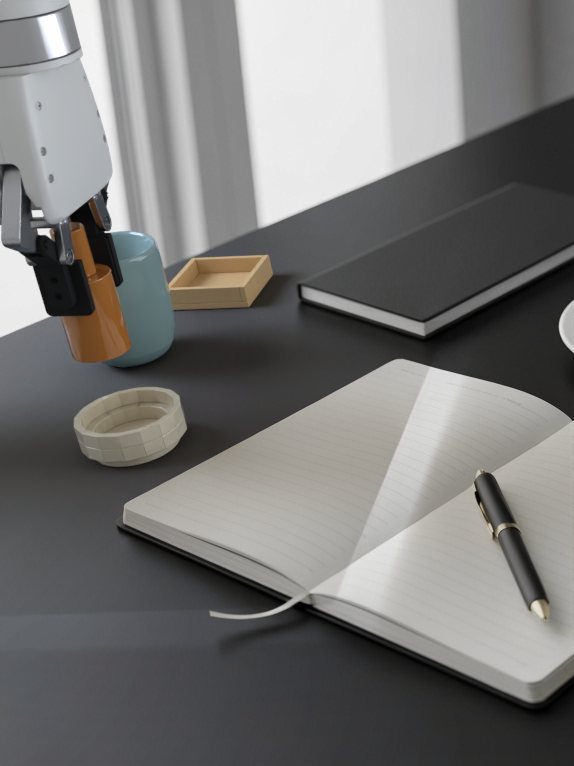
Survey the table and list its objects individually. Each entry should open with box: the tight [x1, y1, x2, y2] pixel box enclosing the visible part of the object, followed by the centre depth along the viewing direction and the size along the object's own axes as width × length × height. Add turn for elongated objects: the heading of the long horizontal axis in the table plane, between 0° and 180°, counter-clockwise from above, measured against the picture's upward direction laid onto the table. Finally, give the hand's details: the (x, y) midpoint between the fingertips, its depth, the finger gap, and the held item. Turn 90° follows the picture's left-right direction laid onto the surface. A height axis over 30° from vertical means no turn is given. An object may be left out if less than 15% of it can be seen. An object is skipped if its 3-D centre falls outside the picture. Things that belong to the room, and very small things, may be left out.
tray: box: [168, 254, 274, 311], centre depth 120 cm, size 8×8×2 cm
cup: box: [102, 230, 176, 368], centre depth 107 cm, size 8×8×10 cm
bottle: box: [48, 222, 132, 364], centre depth 90 cm, size 4×4×10 cm
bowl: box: [73, 386, 188, 468], centre depth 95 cm, size 7×7×3 cm
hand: (86, 297), depth 90 cm, fingers closed on bottle, 4 cm apart
